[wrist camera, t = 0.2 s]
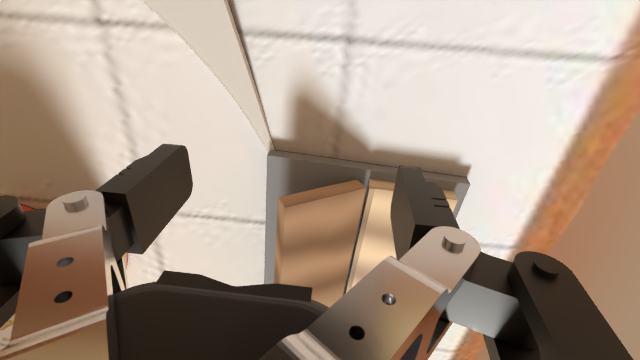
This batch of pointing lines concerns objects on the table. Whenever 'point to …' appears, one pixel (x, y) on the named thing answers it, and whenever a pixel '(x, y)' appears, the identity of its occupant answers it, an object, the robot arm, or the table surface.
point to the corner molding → (217, 51)
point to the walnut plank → (318, 238)
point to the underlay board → (315, 172)
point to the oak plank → (376, 231)
